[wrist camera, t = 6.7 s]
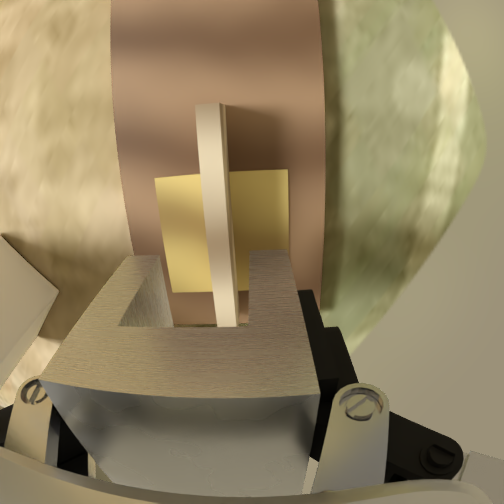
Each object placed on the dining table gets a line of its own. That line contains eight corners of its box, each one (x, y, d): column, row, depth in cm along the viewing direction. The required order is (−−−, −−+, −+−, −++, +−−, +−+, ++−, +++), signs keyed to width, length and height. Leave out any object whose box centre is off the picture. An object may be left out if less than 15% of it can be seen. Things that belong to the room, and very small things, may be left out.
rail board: (120, -16, 12) (90, -40, 8) (309, -36, 12) (323, -68, 8) (155, 313, 21) (138, 353, 17) (315, 308, 21) (327, 349, 17)
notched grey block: (127, 256, 10) (38, 379, 5) (286, 248, 10) (320, 393, 5) (155, 364, 12) (118, 487, 7) (285, 363, 12) (300, 498, 7)
